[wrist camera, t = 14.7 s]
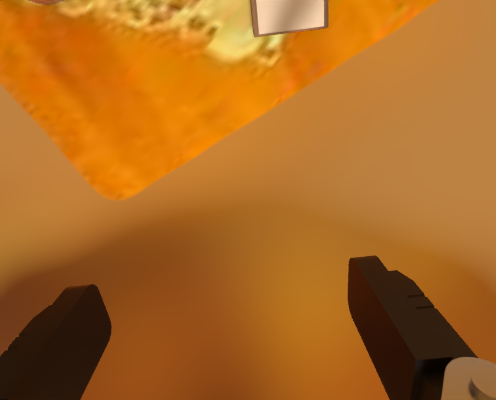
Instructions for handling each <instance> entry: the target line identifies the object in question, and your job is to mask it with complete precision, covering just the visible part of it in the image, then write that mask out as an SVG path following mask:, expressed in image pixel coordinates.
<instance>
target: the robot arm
mask: <svg viewBox="0 0 496 400" xmlns="http://www.w3.org/2000/svg"><path fill="white" fill-rule="evenodd" d="M29 1H32V2H35V3H38V4H46V5H48V4H56V3H58V2H61V1H63V0H29ZM348 305H349V310H350V313H351V316H352V319H353V321H354V323H355V325H356V327H357V329H358V332H359V334H360V336H361V338H362V340H363V343H364V345H365V347H366V349H367V351H368V353H369V355H370V358H371V360H372V362H373V364H374V366H375V368H376V371H377V373H378V375H379V377H380V379H381V382H382V384H383V386H384V388H385V390H386V393H387V395H388V397H389V399H390V400H496V364H494V363H492V362H489V361H486V360H483V359H479V358H478V357H477V356H476V355H475V354H474V353H473V352H472V350H471V349H470V348H469V347H468V345H466V343H465V342H464V341H463V339H462V338H461V337H460V336H459V335H458V334H457V332H456V331H455V330H454V329H453V328H452V326H451V325H450V324H449V323H448V322H447V321H446V319H445V318H444V317H443V316H442V314H441V313H440V312H439V311H438V310H437V309H435V308H434V305H433V304H432V303H431V301H430V300H429V299H428V298H427V297H425V295H424V293H423V292H422V291H421V289H420V288H419V287H418V286H417V285H416V284H415V282H414V281H413V280H411V279H410V278H408V277H407V276H405V275H403V274H402V273H400V272H399V271H397V270H395V271H388V270H387V269H386V267H385V266H384V265H383V263H382V262H381V261H380V259H379V258H378V257H377V256H366V257H356V258H350V260H349V272H348ZM110 336H111V321H110V318H109V315H108V313H107V310H106V307H105V305H104V303H103V300H102V297H101V294H100V292H99V290H98V287H97V286H96V285H94V284H91V285H81V286H71V287H67V288H66V289H65V290H64V291H63V292H62V293H61V294H60V295H59V297H58V298H57V299H56V300H55V302H54V303H53V304H52V305H50V306H48V307H47V308H46V309H44V310H43V311H42V312H41V313H39V314H38V315H37V316H35V317H34V318H33V319H32V320H31V321H30V322H29V323H28V324H27V326H26V327H25V328H24V329H23V330H22V332H21V333H20V334H19V337H17V338H16V339H15V340H14V341H13V342H12V344H10V346H9V347H8V350H7V351H5V352H4V353H3V354H2V355H1V356H0V400H80V399H81V397H82V395H83V393H84V391H85V389H86V387H87V385H88V383H89V381H90V379H91V377H92V375H93V373H94V371H95V369H96V367H97V365H98V362H99V361H100V358H101V356H102V354H103V352H104V350H105V348H106V346H107V344H108V342H109V340H110Z"/></svg>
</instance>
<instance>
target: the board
mask: <svg viewBox="0 0 496 400" xmlns="http://www.w3.org/2000/svg"><path fill="white" fill-rule="evenodd" d="M251 8H252V19H253V30H254V37H260V36H268V35H276V34H284V33H292V32H300V31H308V30H316V29H324V28H327V27H328V0H251Z"/></svg>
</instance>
